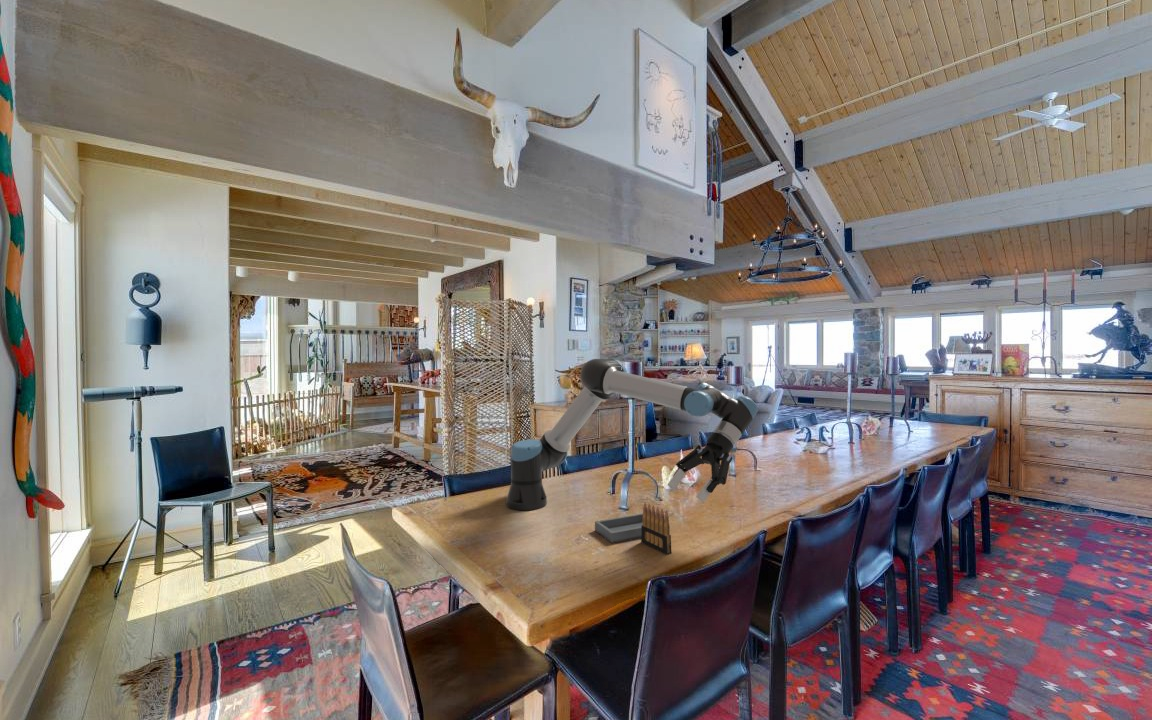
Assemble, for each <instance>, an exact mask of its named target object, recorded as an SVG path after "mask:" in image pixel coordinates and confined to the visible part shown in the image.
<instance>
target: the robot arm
mask: <svg viewBox="0 0 1152 720" xmlns="http://www.w3.org/2000/svg"><path fill="white" fill-rule="evenodd" d="M622 364H623V362H622V361H621V360H618V359H615V358H592V359H590V360H588V361H587V362H585V363H584V365H583V366H582V367H581V370H580V381H581V383H582V385H583V388H582V389H581V390H580V391H579V393H578V394H577V396H576V397H575V398H574V400H573V401H572V402H571V404H570V405H569V407H568V408H567V409H566V410H565V411H564V413H563V414H562V416H561V417H560V419H559V420H558V421H557V423H555V425H554V426H553V427H552V429H549V430H548V429H547V430H546V431H545V432H544V433H543V435H542V436H541V438H540V439H535V438H534V439H533V438H532V439H531V438H530V439H529V438H528V439H525V440H523V439H522V440H519V441H516V442H514V443H513V444H512V445H511V448H510V454H509V456H510V486H509V490H508V494H507V496H506V499H505V502H506V507H507V508H509V509H511V510H516V511H533V510H538V509H541V508H543V507H545V506H546V505H548V504H547V503H548V500H547V497H548V496H547V495H546V491H545V489H544V485H543V472H544V471H547V470H551V469H554V468H557V467H559V466H560V465H562V464H563V463H564V462H565V461H566V460H567V457H568V454H569V453H568V451H569V450H570V443H571V442H572V440H573V439H574V437H575V436H576V435H577V434H578V432H579V431H580V430H581V428H582V427H583V426H584V425H585V424H586V422H587V421H588V419H589V418H590V417H591V416H592V414H593V413H594V412H595V410H596V409H597V408H598V407H599V405H600V404H601V402H602V401H608V400H609V399H610V397H612V395H613V394H617V395H622V396H625V397H629V398H634V399H636V400H640V401H645V402H649V403H652V404H657V405H660V406H664V407H668V408H672V409H676V410H679V411H683V412H687V413H688V415H691V416H693V417H704V416H706V415H708V414H711V413H712V414H713V415H715V416H717V417H718V418H720V419H721V420H720V421H719V422H718V424H717V426H716V427H715V428H714V430H713V432H712V433H711V434H710V435H709V437H708V438H707V440H706V445H705V447H702V446H701V445H696V446H695V448H694V449H693V450H691V451H690V452H689V453H688V454H686V455H685V456H684V457H683V458H682V459H680V460H679V461H677V462H676V463H675V466H676V467H677V470H676V472H675V473H674V474H673V476H672V478H671V480H670V481H669V482H668V484H667V487H669V488H670V489H671V491H675V490H676V489H677V488H678V486H679V485H680V483H681V482H682V480H683V479H684V477H686V475H687V474H686V473H687V472H689V471H690V470H692V469H694V468H696V467H698V466H699V465H704V464H707V465H710V466H711V467H710V468H711V476H710V478H708V479H707V480H706V482H705V484H704V485H703V486H702V488H701V489H700V491H699V492H698V493H697V495H696V498H697V499H698V500H699V502H701V503H703V504H704V503H705V501H706V500H707V499H708V497H709V496H710V494H712V493H713V492H714V490H715V488H717V486H719V485H723V486H724V485H726V483H727V479H728V473H729V470H730V464H731V462H732V460H733V457H732V456H731V454H730V453H731V451H732V450H733V448H734V446H736V444H737V442H738V441H739V439H741V437H742V435H743V434H744V433H745V431H746V430H747V428H749V426H750V424H751V423H752V422H753V420H754V419H755V416H756V415H757V414H758V412H759V407H758V405H757V403H756V402H755V401H754V400H752V399H751V398H749V397H746V396H745V395H740V396H738V397H736V398H733V397H732V396H729V395H728V394H726V393H725V392H723V391H721V390H719V389H718V388H716V387H714V385H711V384H708V383H706V382H705V381H704V382H701V383H700V384H698V386H697V387H696V388H693V387H690V386H689V387H688V386H685V385H680V384H676V383H672V382H667V381H663V380H659V379H655V378H652V377H651V378H650V377H647V376H642V375H639V374H638V375H637V374H635V373H633V374H632V373H629V372H628V370H627V368H626V366H625V365H624V364H623V367H622ZM621 367H622V370H621Z"/></svg>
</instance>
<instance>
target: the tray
mask: <svg viewBox="0 0 1152 720" xmlns="http://www.w3.org/2000/svg"><path fill="white" fill-rule="evenodd" d="M641 526H643V512H641V513H637V514H632V515H631V514H630V515H626V516H625V515H624V516H620V517H612V518H607V519H603V520H602V519H601V520H595V521H594V531H595V532H596V533H598V534H599V535H600V536H601V537H603V538H604V539H605V538H606V539H605V540H606V541H608V542H609V541H610V543H611V544H615V542H617V543H621V542H620V541H622V542H627V541H630V540H631V539H632V540H636V539H641ZM626 540H627V541H626Z"/></svg>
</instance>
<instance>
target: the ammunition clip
mask: <svg viewBox="0 0 1152 720" xmlns="http://www.w3.org/2000/svg"><path fill="white" fill-rule="evenodd" d="M642 513H643V526H641V538H640V543H642V544H644V545H646V546H648V547H649V548H652V549H654V550H656V551H658V552H660V553H662V554H664V555H665V556H667V555H670V554H672V539H671V538H672V537H671V536H672V535H671V533H670V531H671V529H670V519H669V516H670V515H669V512H668V510H667V509H666V510H665V512H664V509H663V508H661V509H660V508H659V506H657V507H656V508H655V505H652V507H651V504H650V503H648V505H647V502H644V503H643V511H642Z"/></svg>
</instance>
